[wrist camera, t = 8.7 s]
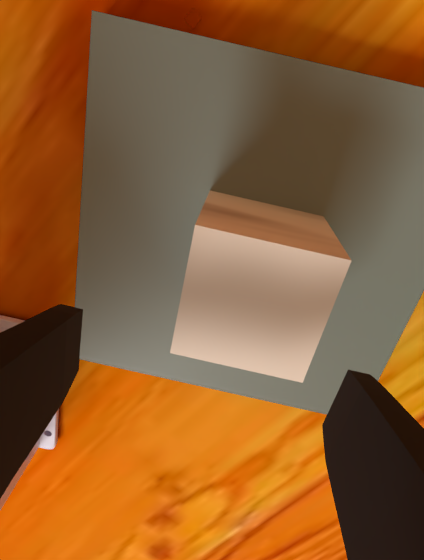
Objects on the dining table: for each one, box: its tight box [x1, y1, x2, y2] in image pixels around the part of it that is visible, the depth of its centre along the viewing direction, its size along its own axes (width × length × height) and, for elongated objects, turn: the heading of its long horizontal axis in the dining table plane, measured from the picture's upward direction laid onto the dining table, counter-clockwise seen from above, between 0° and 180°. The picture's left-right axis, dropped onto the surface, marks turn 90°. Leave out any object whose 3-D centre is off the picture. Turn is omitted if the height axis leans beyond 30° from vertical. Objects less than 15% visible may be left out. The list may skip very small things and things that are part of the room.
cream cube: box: [170, 190, 352, 383], centre depth 15 cm, size 5×5×5 cm
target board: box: [75, 10, 424, 414], centre depth 18 cm, size 16×16×1 cm
